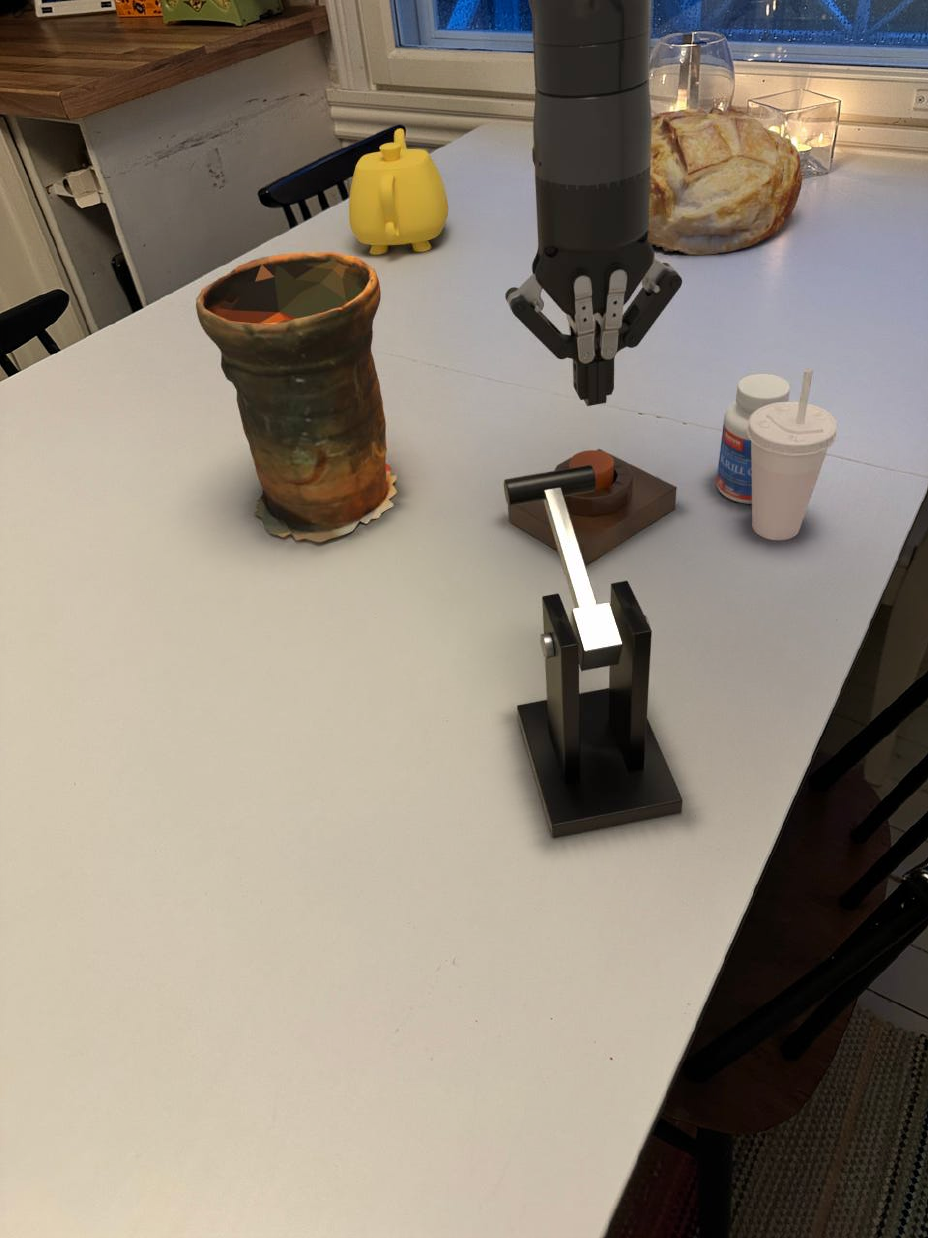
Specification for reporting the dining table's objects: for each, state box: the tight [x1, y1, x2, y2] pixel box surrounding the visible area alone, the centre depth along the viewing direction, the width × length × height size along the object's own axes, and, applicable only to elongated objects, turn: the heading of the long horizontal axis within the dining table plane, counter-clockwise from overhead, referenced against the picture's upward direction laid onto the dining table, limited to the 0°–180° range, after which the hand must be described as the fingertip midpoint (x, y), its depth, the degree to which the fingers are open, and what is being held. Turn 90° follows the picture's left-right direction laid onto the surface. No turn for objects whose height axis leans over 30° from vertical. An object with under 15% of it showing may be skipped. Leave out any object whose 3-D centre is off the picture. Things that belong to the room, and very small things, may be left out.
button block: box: [507, 448, 678, 566], centre depth 78 cm, size 11×9×4 cm
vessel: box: [195, 252, 398, 543], centre depth 78 cm, size 14×14×20 cm
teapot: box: [348, 128, 449, 256], centre depth 129 cm, size 14×20×13 cm
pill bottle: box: [716, 373, 791, 505], centre depth 77 cm, size 6×5×10 cm
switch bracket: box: [516, 580, 684, 838], centre depth 55 cm, size 10×8×13 cm
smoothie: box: [747, 368, 838, 541], centre depth 71 cm, size 6×6×14 cm
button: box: [570, 449, 614, 490], centre depth 76 cm, size 4×4×2 cm
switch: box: [503, 465, 623, 672], centre depth 55 cm, size 13×6×2 cm, turn 10°
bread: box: [648, 105, 803, 256], centre depth 122 cm, size 25×27×15 cm
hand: (594, 399), depth 72 cm, fingers closed
